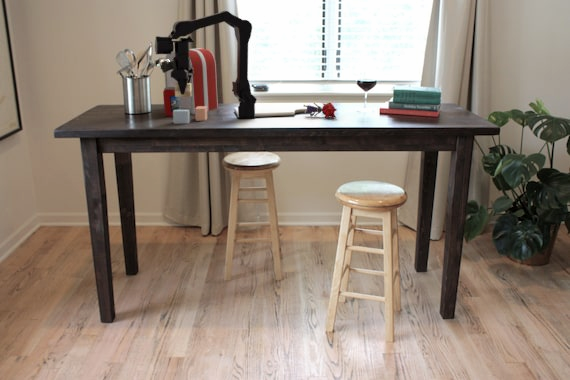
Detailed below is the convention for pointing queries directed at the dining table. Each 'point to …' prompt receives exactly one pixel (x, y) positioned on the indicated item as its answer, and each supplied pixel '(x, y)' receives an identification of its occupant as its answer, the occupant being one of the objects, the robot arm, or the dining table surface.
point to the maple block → (187, 91)
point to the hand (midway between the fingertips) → (183, 93)
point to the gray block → (181, 116)
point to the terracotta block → (201, 113)
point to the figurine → (326, 110)
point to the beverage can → (170, 101)
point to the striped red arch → (198, 80)
